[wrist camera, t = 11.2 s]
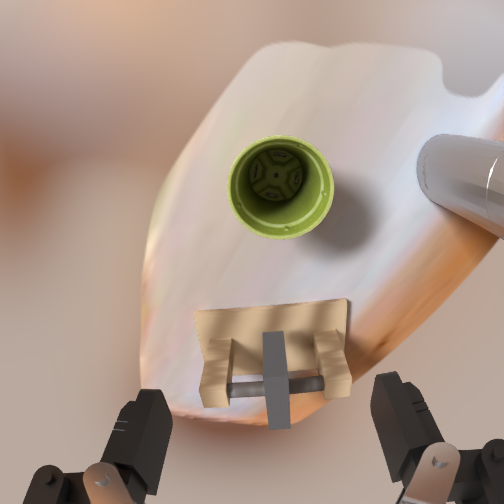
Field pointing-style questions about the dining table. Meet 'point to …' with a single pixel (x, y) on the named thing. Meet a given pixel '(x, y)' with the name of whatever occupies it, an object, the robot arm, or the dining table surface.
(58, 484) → the robot arm
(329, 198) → the plant pot
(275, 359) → the rubber u
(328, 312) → the bar rack
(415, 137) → the dining table surface
